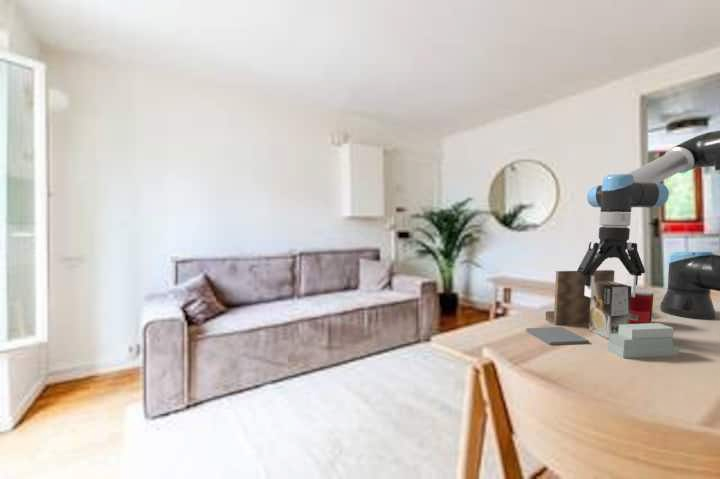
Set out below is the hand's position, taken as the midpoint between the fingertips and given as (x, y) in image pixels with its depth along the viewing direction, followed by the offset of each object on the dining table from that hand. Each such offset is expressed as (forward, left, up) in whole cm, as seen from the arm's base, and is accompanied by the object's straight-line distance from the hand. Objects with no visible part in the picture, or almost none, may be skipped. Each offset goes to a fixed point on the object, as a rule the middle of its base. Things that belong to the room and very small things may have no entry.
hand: (609, 296), depth 109 cm
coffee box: (0, 0, -12) cm, 12 cm away
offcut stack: (+2, +14, -12) cm, 19 cm away
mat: (+17, 0, -12) cm, 21 cm away
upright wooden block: (0, -13, -12) cm, 18 cm away
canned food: (-19, -10, -12) cm, 25 cm away
